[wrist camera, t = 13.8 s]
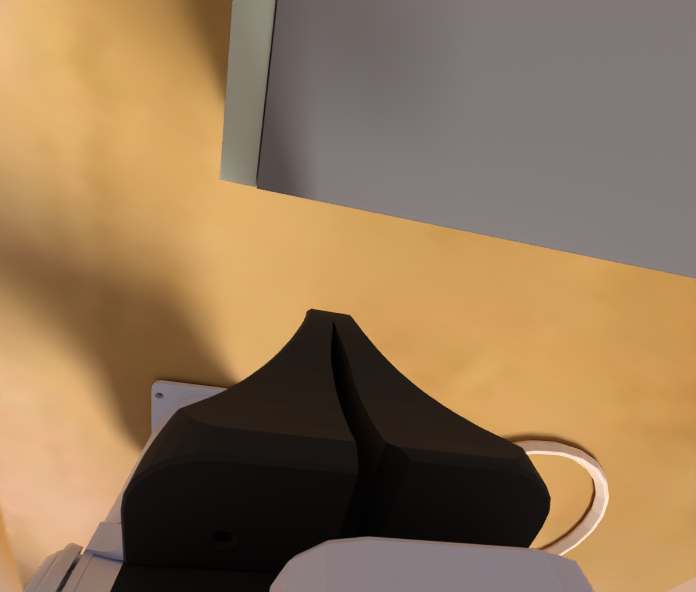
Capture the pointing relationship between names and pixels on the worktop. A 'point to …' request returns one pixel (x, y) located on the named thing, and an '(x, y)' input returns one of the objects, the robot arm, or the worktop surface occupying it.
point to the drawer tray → (247, 88)
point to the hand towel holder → (600, 487)
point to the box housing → (494, 119)
